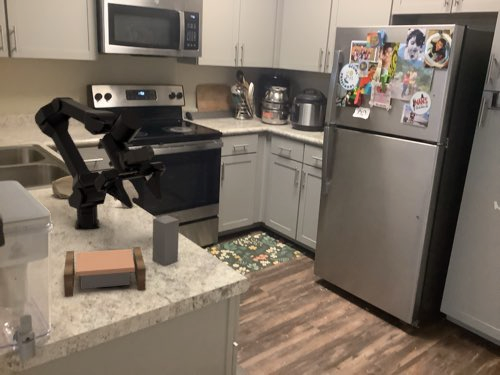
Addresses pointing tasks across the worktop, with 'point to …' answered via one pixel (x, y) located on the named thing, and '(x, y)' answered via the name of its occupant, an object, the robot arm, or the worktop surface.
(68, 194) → the decorative stone
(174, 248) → the gray rectangular block
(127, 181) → the arrowhead
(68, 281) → the brown bracket
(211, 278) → the worktop surface
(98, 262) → the trapdoor
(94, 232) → the worktop surface
